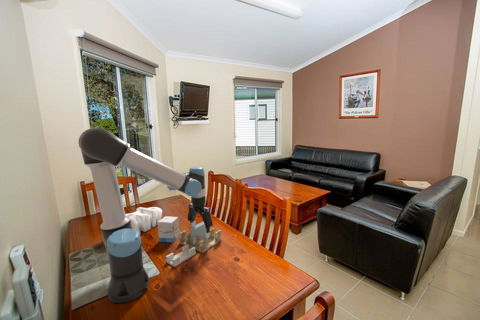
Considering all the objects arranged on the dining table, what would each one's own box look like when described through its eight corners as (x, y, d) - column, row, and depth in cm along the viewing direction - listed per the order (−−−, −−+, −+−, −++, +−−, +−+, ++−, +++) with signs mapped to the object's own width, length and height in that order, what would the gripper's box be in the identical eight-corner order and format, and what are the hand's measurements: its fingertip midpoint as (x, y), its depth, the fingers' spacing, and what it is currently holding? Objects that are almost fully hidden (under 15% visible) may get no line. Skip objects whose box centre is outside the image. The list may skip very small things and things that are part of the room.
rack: (202, 253, 115) (201, 242, 114) (179, 243, 124) (179, 233, 124) (221, 240, 127) (221, 230, 126) (199, 232, 136) (199, 223, 136)
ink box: (172, 243, 125) (171, 222, 124) (158, 241, 127) (157, 221, 125) (179, 235, 134) (178, 216, 132) (166, 234, 135) (165, 215, 134)
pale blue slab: (195, 245, 120) (194, 229, 119) (191, 243, 122) (190, 228, 120) (209, 236, 129) (208, 221, 128) (205, 235, 131) (204, 220, 129)
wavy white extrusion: (119, 244, 125) (117, 226, 124) (103, 237, 134) (101, 220, 132) (169, 221, 155) (168, 206, 153) (153, 216, 163) (152, 202, 162)
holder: (174, 267, 104) (174, 260, 103) (165, 262, 108) (165, 256, 107) (196, 253, 114) (195, 247, 114) (187, 249, 118) (187, 243, 118)
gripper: (218, 197, 118) (220, 238, 121) (189, 191, 131) (191, 227, 134) (208, 201, 112) (210, 244, 116) (179, 194, 125) (181, 232, 128)
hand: (200, 235), depth 125 cm, fingers open, 9 cm apart
